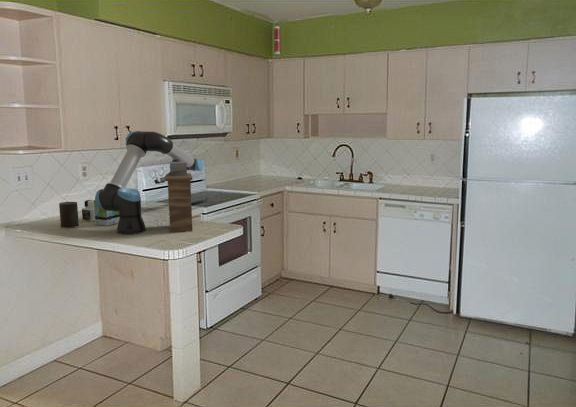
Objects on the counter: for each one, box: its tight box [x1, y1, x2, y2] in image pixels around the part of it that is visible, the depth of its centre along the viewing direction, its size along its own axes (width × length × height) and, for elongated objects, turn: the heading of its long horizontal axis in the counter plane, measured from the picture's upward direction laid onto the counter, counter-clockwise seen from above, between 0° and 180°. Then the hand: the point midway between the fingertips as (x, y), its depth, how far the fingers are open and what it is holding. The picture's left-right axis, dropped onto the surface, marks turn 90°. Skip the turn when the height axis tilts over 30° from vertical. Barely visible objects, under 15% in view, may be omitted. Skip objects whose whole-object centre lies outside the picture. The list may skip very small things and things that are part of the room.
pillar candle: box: [58, 201, 80, 229], centre depth 286 cm, size 10×10×15 cm
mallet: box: [169, 161, 188, 176], centre depth 286 cm, size 25×9×7 cm, turn 13°
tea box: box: [93, 199, 119, 227], centre depth 293 cm, size 15×10×15 cm, turn 154°
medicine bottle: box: [81, 199, 95, 222], centre depth 302 cm, size 7×7×12 cm
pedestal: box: [165, 172, 193, 233], centre depth 277 cm, size 19×14×30 cm
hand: (167, 174), depth 300 cm, fingers open, 13 cm apart
